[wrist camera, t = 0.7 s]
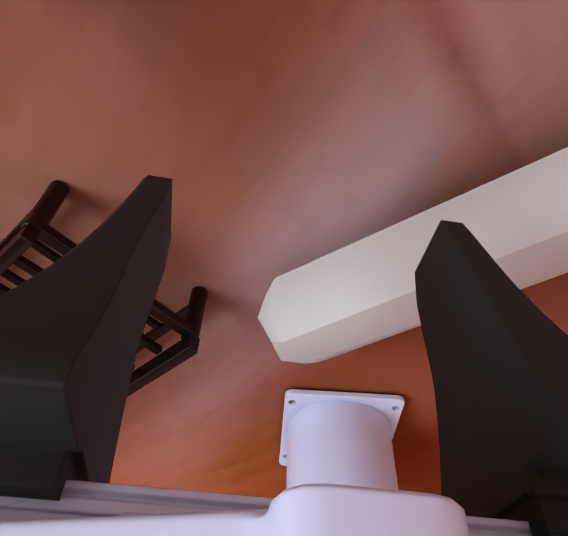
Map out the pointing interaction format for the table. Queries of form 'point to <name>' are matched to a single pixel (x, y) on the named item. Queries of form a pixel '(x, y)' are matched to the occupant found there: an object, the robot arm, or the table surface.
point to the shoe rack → (38, 228)
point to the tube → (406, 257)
